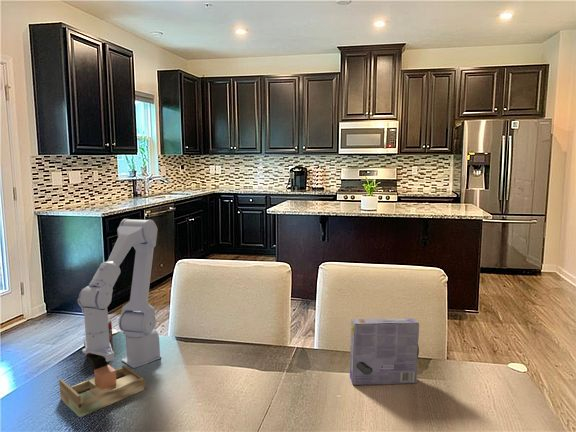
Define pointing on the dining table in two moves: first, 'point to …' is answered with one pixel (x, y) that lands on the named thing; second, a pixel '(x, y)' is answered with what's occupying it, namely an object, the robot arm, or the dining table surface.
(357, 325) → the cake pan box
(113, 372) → the block
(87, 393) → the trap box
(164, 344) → the dining table surface
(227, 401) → the dining table surface
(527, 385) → the dining table surface
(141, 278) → the robot arm
